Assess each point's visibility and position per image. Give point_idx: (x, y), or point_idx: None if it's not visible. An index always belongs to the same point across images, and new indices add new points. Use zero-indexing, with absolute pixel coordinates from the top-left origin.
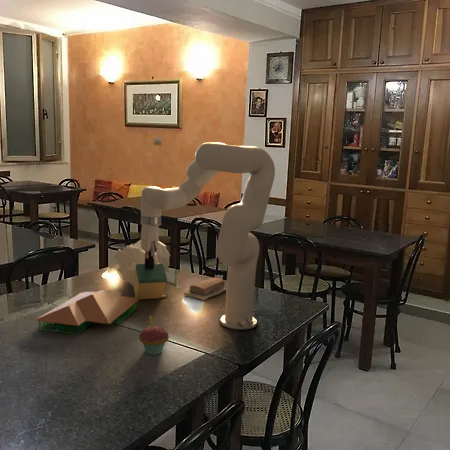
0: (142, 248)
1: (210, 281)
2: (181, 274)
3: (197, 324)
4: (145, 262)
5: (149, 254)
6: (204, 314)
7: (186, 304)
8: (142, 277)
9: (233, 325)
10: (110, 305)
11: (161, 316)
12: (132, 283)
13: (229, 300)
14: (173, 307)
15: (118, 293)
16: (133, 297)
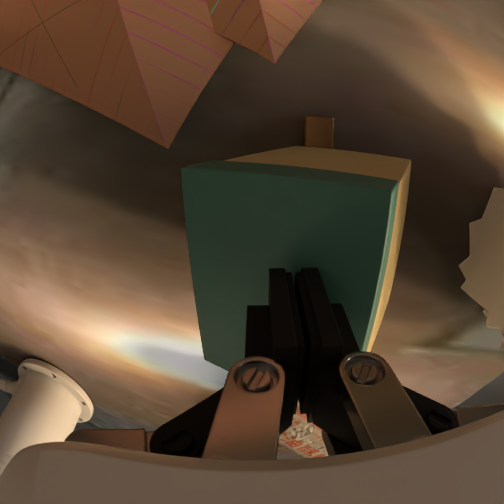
0: (357, 484)
1: (315, 448)
2: (492, 365)
3: (27, 310)
4: (284, 308)
5: (156, 446)
6: (99, 356)
7: (198, 341)
8: (203, 200)
9: (20, 371)
10: (25, 15)
11: (72, 223)
12: (496, 194)
13: (5, 412)
14: (166, 291)
15: (252, 34)
16: (321, 138)
